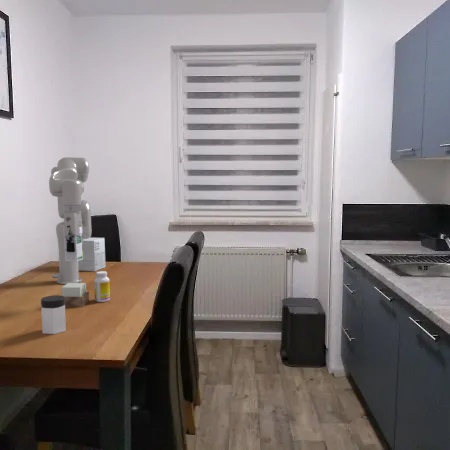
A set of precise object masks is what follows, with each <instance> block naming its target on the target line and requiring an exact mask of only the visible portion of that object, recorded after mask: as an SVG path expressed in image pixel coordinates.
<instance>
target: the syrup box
mask: <svg viewBox="0 0 450 450" xmlns="http://www.w3.org/2000/svg"><path fill="white" fill-rule="evenodd" d="M79 229H80V232H79V235H78V236H74V242H73V243H74V244H75V252H67V243H66V237H65V233H64V249H65V261H69V262H77V261H80V260H83V259H84V257H83V238H82V227H79ZM63 231H64V229H63ZM69 235H72V234H69ZM71 239H72V237H71Z"/></svg>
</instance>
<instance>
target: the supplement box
mask: <svg viewBox="0 0 450 450" xmlns="http://www.w3.org/2000/svg"><path fill="white" fill-rule="evenodd" d="M105 241H106V239H105V237H90V238H88V239H83V257H84V259H83V260H80V261H78V268H79V271H83V272H98V271H100V270H102V269H104V268H106V246H105V244H106V243H105Z"/></svg>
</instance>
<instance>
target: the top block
mask: <svg viewBox="0 0 450 450" xmlns="http://www.w3.org/2000/svg"><path fill="white" fill-rule="evenodd" d="M60 289H61V296H64V297H81V296H82V295H83V294H84V293H85V292H87V283H86V282H79V283H67V284H63V286H61V288H60Z"/></svg>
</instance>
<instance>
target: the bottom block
mask: <svg viewBox="0 0 450 450" xmlns="http://www.w3.org/2000/svg"><path fill="white" fill-rule="evenodd" d="M89 301H90V292H89V291H86V292H85V293H84V294H83V295H82V296H81V297H65V308H69V307H71V308H72V307H73V308H74V307H75V308H78V307H80V308H81V307H82V308H83V307H84V306H86V304H87V303H88V302H89Z"/></svg>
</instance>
